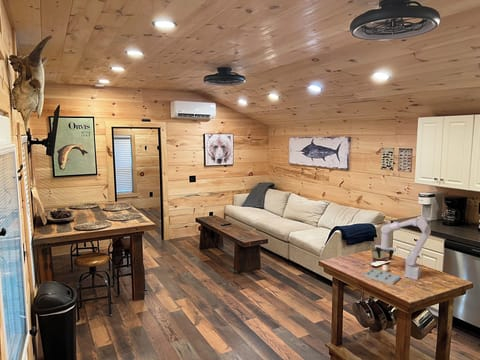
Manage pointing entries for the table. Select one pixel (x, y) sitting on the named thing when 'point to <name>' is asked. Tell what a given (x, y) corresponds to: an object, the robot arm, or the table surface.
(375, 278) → the grey compartment tray
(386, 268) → the egg
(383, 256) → the food container
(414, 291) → the table surface
